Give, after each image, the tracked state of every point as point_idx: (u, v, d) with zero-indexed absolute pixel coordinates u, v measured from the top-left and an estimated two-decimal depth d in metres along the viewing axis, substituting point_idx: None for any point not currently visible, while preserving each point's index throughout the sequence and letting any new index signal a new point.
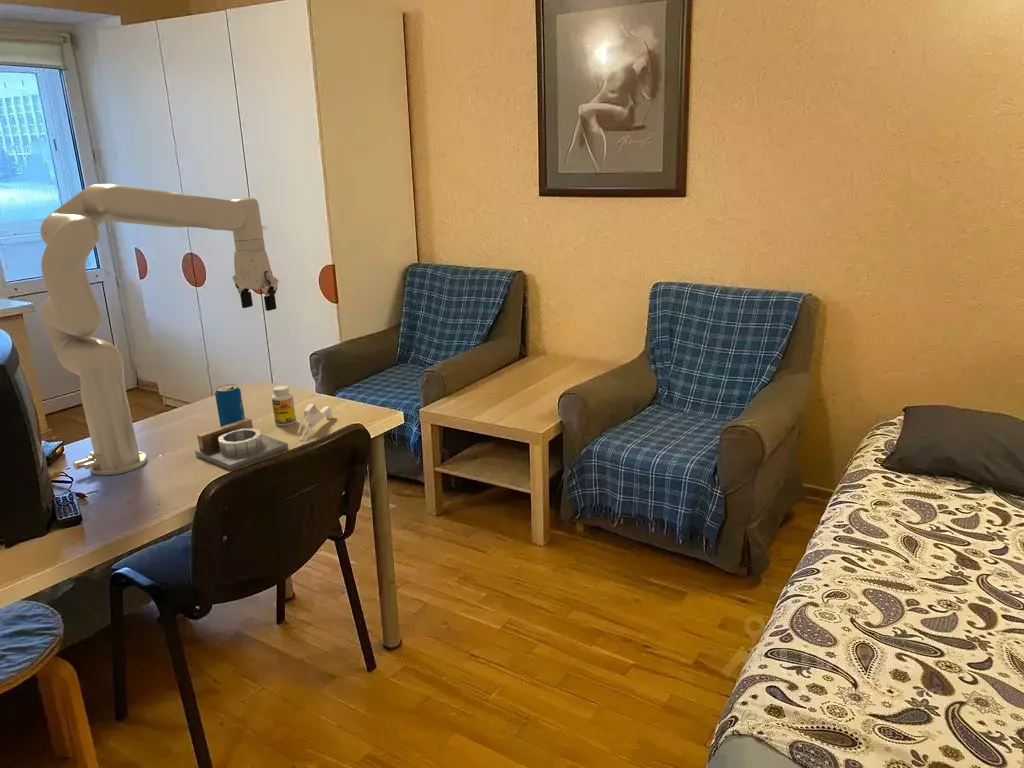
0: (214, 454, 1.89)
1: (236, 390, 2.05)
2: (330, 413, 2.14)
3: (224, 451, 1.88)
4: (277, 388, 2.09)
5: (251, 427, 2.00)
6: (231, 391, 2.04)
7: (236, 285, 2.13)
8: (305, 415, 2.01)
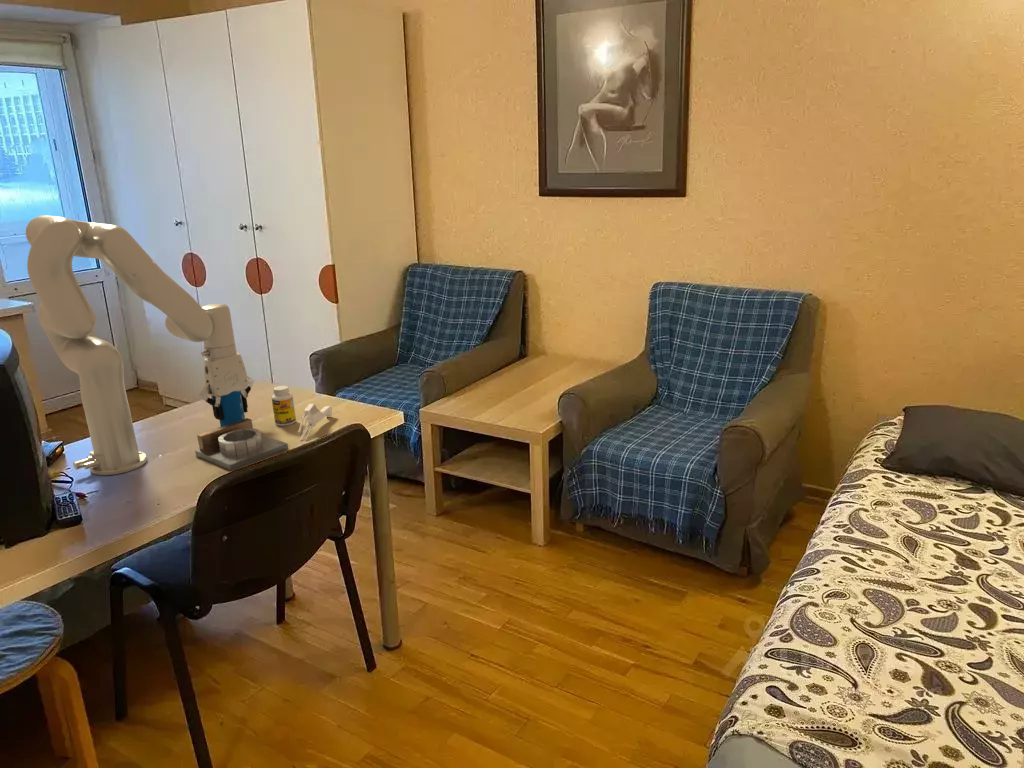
0: (214, 454, 1.89)
1: None
2: (330, 413, 2.15)
3: (224, 451, 1.88)
4: (277, 388, 2.09)
5: (251, 427, 2.00)
6: None
7: (210, 400, 2.02)
8: (305, 415, 2.01)
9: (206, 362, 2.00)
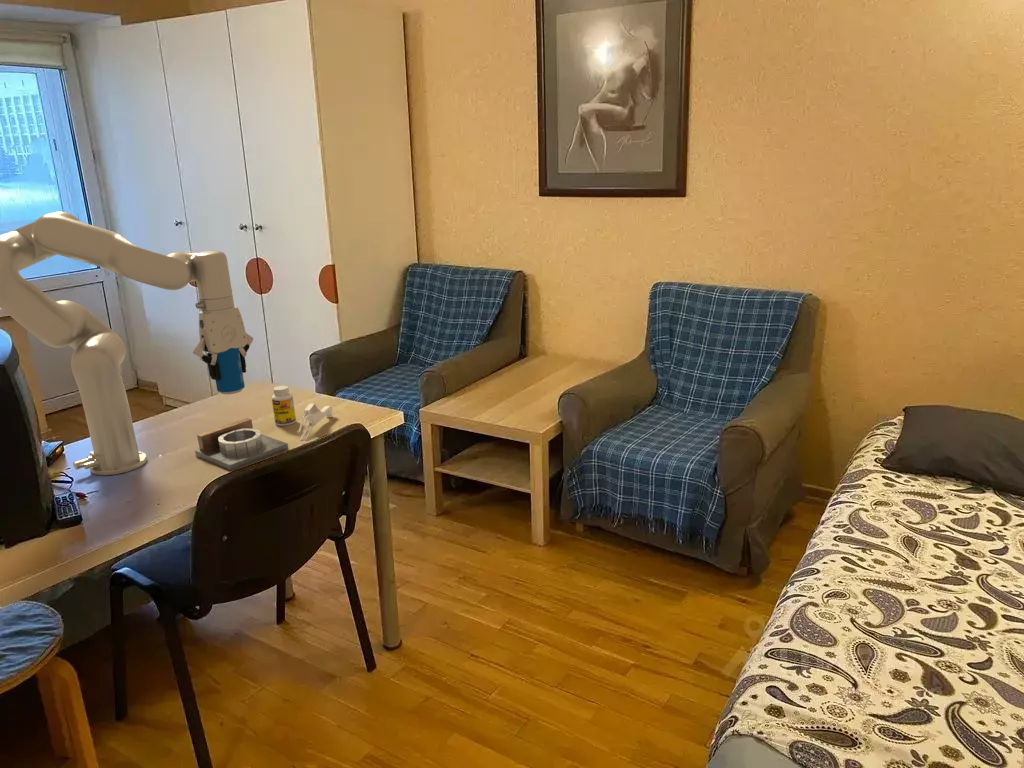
0: (214, 454, 1.89)
1: None
2: (331, 412, 2.15)
3: (224, 451, 1.88)
4: (277, 388, 2.09)
5: (251, 427, 2.00)
6: None
7: (206, 357, 1.83)
8: (305, 414, 2.02)
9: (201, 315, 1.82)
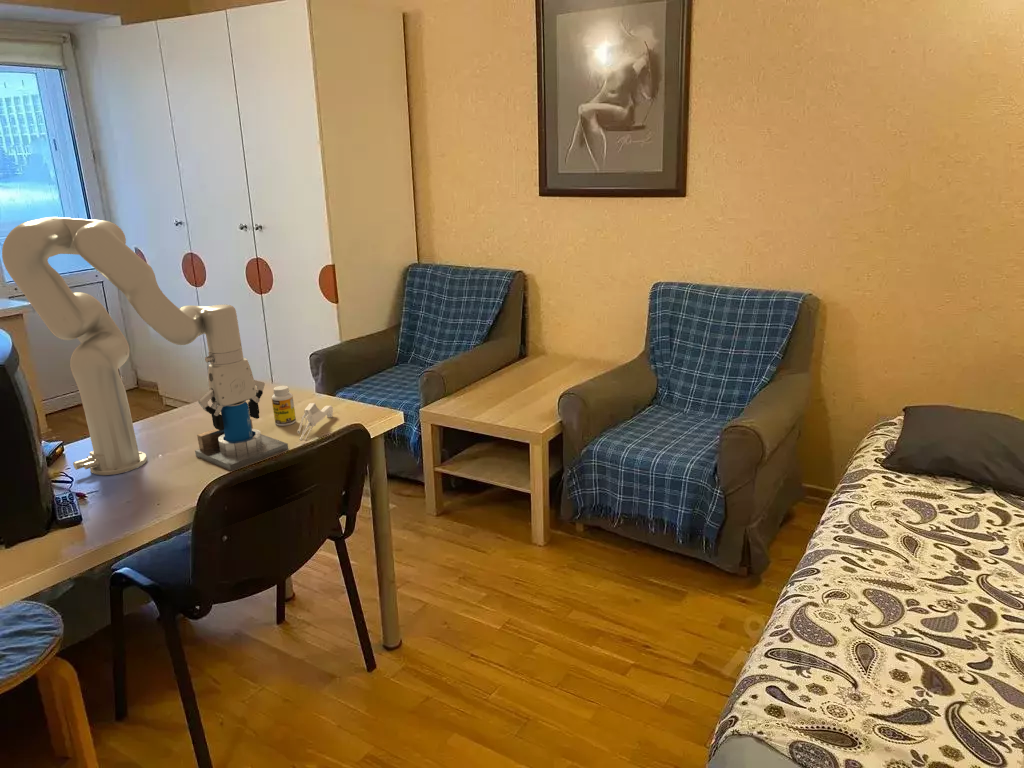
0: (214, 454, 1.89)
1: (243, 405, 1.88)
2: (331, 412, 2.15)
3: (224, 451, 1.88)
4: (277, 388, 2.09)
5: None
6: (238, 406, 1.87)
7: (209, 408, 1.83)
8: (305, 414, 2.02)
9: (210, 368, 1.83)
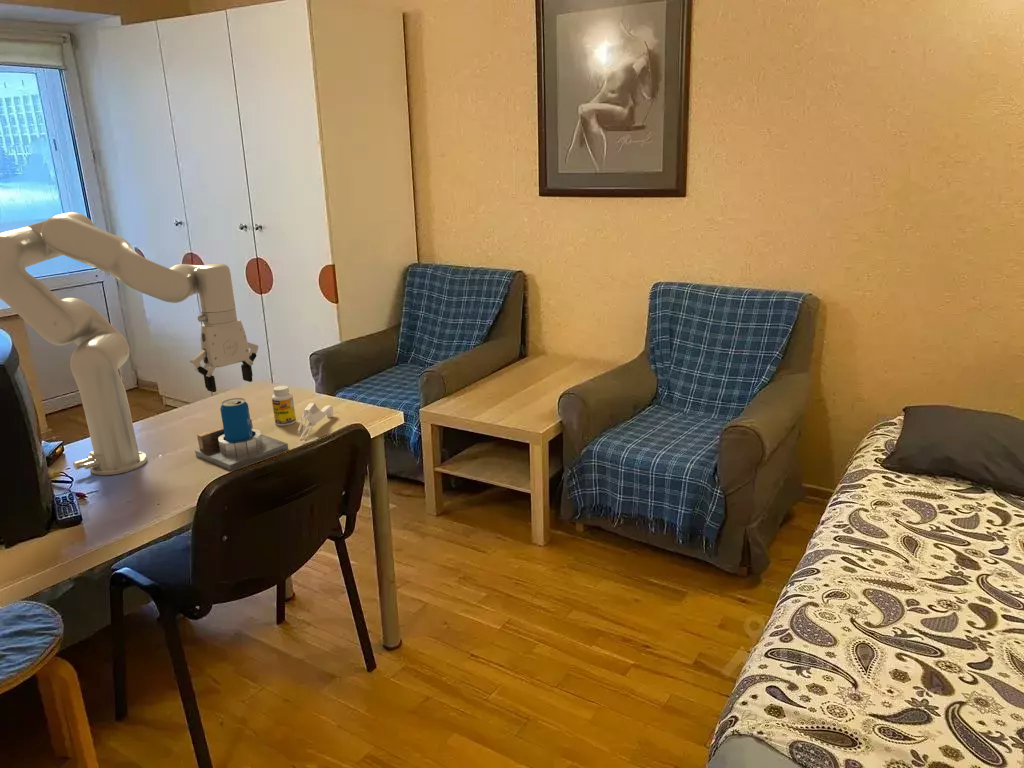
0: (214, 454, 1.89)
1: (243, 405, 1.88)
2: (331, 412, 2.15)
3: (224, 451, 1.88)
4: (277, 388, 2.09)
5: None
6: (238, 406, 1.87)
7: (202, 369, 1.80)
8: (305, 414, 2.02)
9: (203, 328, 1.80)
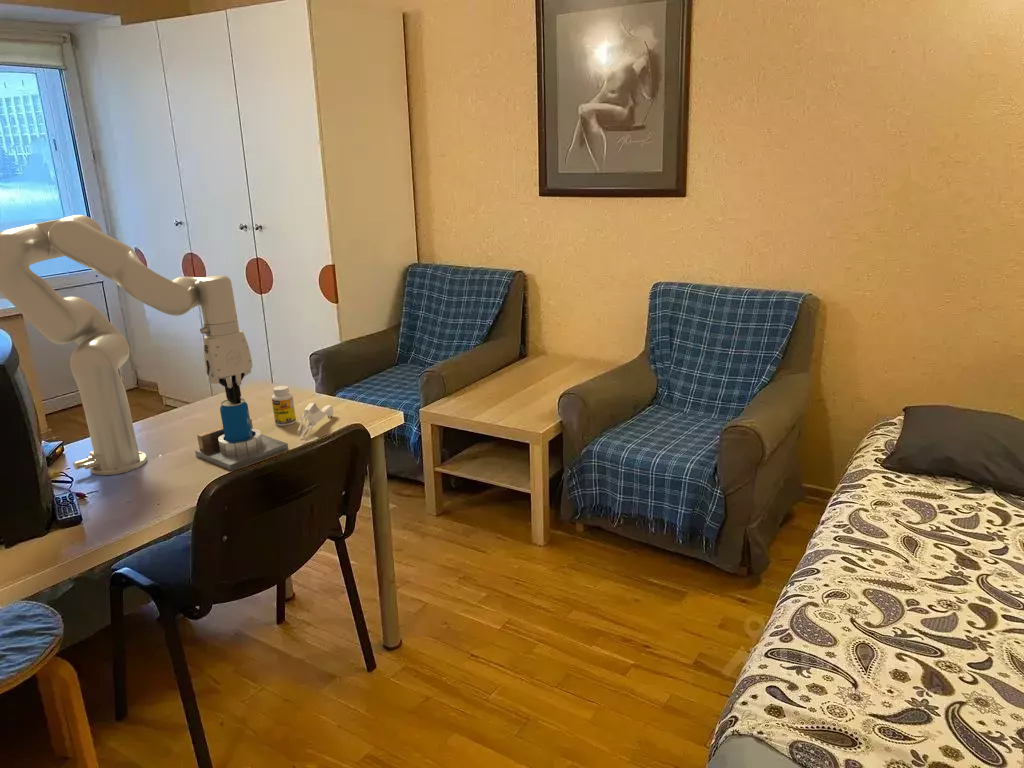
0: (214, 454, 1.89)
1: (243, 405, 1.88)
2: (331, 412, 2.15)
3: (224, 451, 1.88)
4: (277, 388, 2.09)
5: (251, 427, 2.00)
6: (237, 406, 1.87)
7: (223, 380, 1.85)
8: (305, 414, 2.02)
9: (206, 340, 1.81)
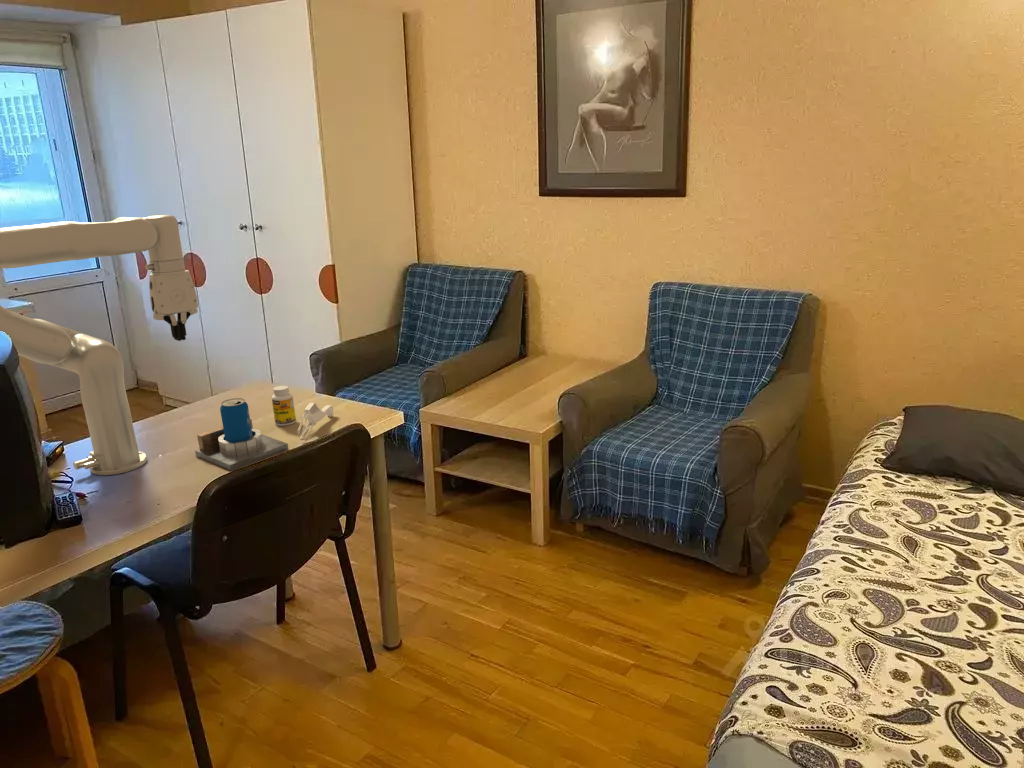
0: (214, 454, 1.89)
1: (243, 405, 1.88)
2: (332, 412, 2.15)
3: (224, 451, 1.88)
4: (277, 388, 2.09)
5: (251, 427, 2.00)
6: (237, 406, 1.87)
7: (167, 318, 1.91)
8: (305, 414, 2.02)
9: (150, 277, 1.87)
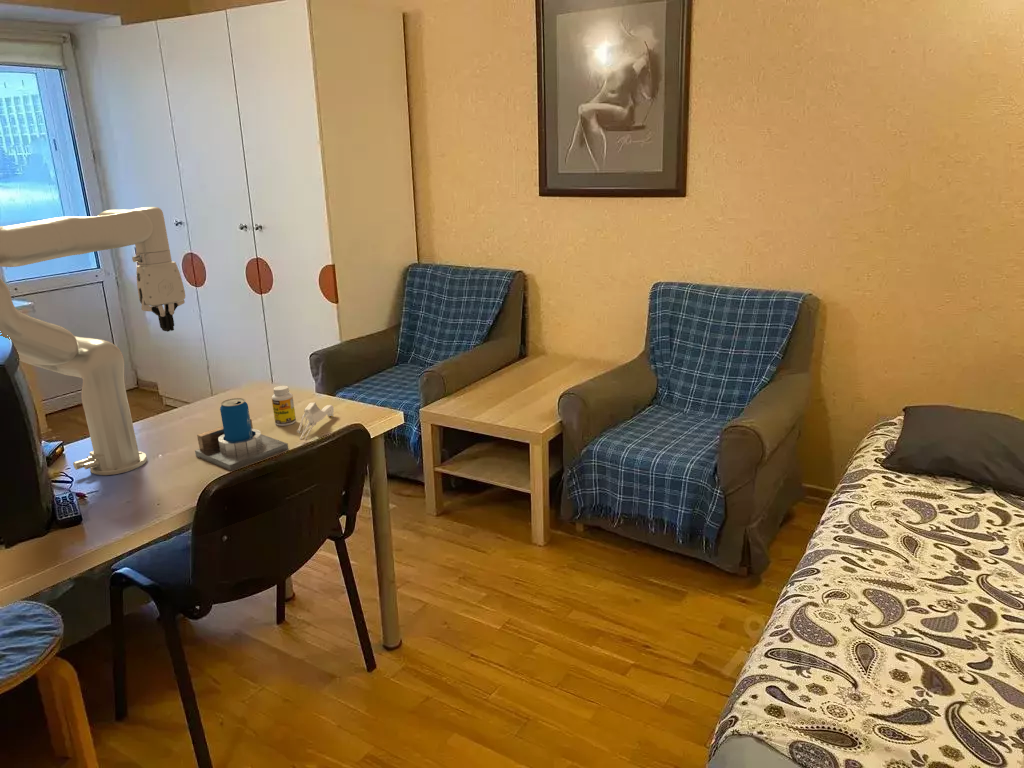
0: (214, 454, 1.89)
1: (243, 405, 1.88)
2: (332, 412, 2.15)
3: (224, 451, 1.88)
4: (277, 388, 2.09)
5: (251, 427, 2.00)
6: (237, 406, 1.87)
7: (155, 309, 1.93)
8: (306, 414, 2.02)
9: (138, 268, 1.89)
